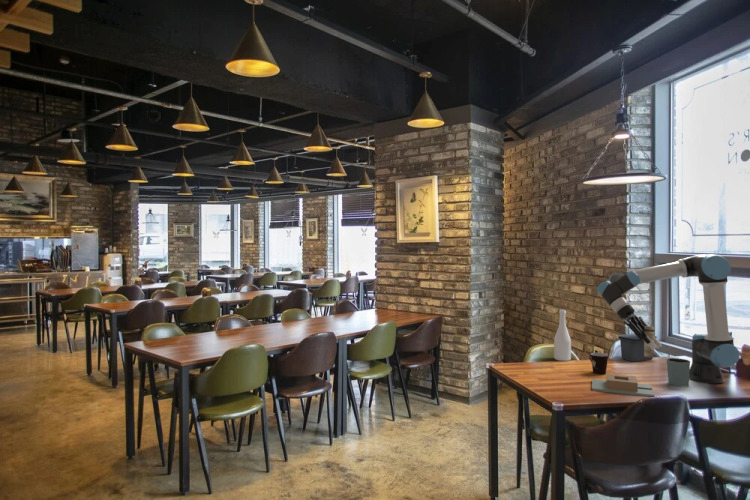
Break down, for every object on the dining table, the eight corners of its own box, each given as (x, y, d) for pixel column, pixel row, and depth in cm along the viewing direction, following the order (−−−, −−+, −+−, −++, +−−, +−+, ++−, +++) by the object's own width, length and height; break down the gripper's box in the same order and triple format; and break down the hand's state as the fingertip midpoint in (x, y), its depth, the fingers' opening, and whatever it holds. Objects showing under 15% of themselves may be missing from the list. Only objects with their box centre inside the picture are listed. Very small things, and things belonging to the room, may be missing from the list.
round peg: (653, 356, 234) (653, 326, 234) (654, 357, 230) (654, 327, 230) (643, 355, 236) (644, 325, 236) (644, 356, 232) (644, 327, 232)
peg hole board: (650, 386, 242) (650, 376, 242) (654, 397, 226) (654, 386, 225) (592, 380, 253) (592, 371, 253) (591, 390, 236) (591, 379, 236)
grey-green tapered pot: (678, 387, 240) (678, 363, 240) (661, 382, 250) (661, 358, 250) (695, 386, 243) (695, 361, 243) (677, 380, 253) (677, 357, 253)
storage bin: (640, 355, 310) (640, 332, 310) (663, 360, 296) (663, 337, 295) (614, 358, 302) (615, 335, 302) (636, 364, 288) (636, 339, 288)
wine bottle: (571, 361, 294) (571, 311, 293) (554, 360, 297) (554, 310, 296) (570, 358, 303) (570, 309, 302) (553, 357, 306) (554, 308, 305)
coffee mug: (610, 375, 263) (610, 356, 263) (592, 374, 265) (592, 355, 265) (604, 369, 274) (604, 351, 274) (587, 369, 276) (587, 351, 276)
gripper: (626, 312, 250) (660, 350, 237) (608, 314, 240) (642, 355, 227) (636, 302, 246) (672, 341, 233) (619, 304, 236) (654, 345, 223)
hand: (657, 348), depth 230 cm, fingers closed on round peg, 4 cm apart
